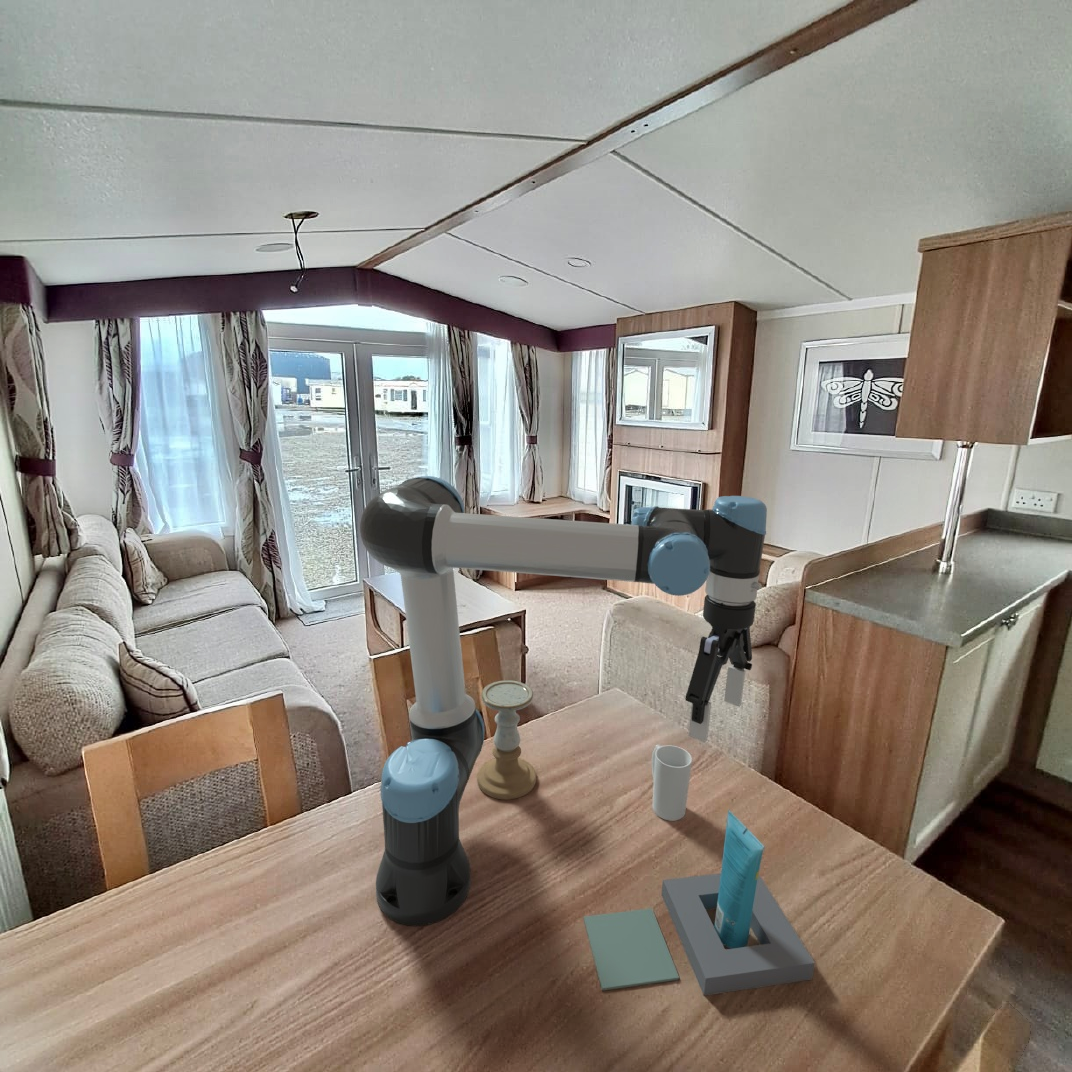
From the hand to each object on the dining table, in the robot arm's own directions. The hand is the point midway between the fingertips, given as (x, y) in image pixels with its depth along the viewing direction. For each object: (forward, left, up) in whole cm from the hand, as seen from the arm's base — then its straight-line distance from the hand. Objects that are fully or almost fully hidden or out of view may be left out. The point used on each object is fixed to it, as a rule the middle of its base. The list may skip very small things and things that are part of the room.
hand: (716, 719), depth 94 cm
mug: (-2, +13, -27) cm, 31 cm away
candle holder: (-32, +24, -27) cm, 48 cm away
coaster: (-18, -15, -27) cm, 35 cm away
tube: (-2, -15, -27) cm, 31 cm away
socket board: (-2, -15, -27) cm, 31 cm away
